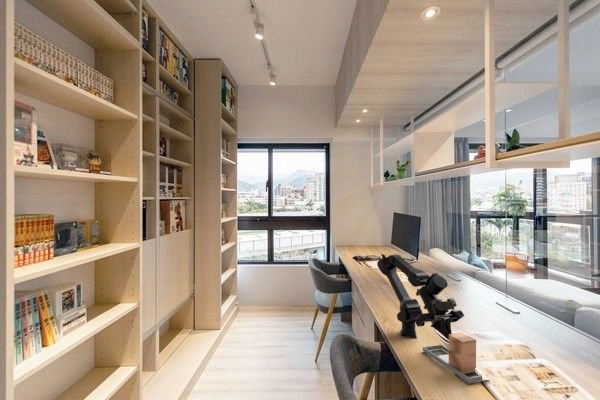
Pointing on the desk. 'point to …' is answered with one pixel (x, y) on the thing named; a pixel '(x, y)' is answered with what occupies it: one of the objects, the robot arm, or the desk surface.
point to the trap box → (443, 360)
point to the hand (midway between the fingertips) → (451, 340)
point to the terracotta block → (462, 352)
